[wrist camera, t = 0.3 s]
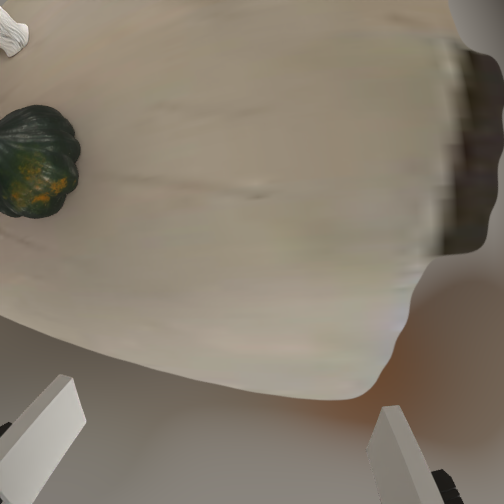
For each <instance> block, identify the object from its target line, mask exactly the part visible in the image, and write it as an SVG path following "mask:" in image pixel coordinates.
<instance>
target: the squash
mask: <svg viewBox="0 0 504 504" xmlns="http://www.w3.org/2000/svg"><path fill="white" fill-rule="evenodd" d="M74 135H75V132H74V129H73V127H72V125H71V124H70V123H69V121H68V120H67V119H66V118H64V117H63V116H62V115H61V114H60V113H59V112H58V111H57V110H56V109H54V108H52V107H48V106H42V105H32V106H28V107H25V108H22V109H18V110H15V111H13V112H11V113H10V114H8V115H6V116H5V117H4V118H3V119H1V120H0V212H1V213H3V214H6V215H8V216H10V217H14V218H17V217H21V216H25V217H28V218H34V219H37V218H44V217H49V216H51V215H53V214H55V213H57V212H58V211H59V210H60V209H61V207H62V206H63V203H64V201H65V197H66V194H68V193H70V192H71V191H73V190H74V189H75V188H76V186H77V183H78V177H79V175H78V170H77V168H76V165H75V164H74V163H75V162H76V161H77V159H78V158H79V155H80V144H79V142H78V141H77V140H76V139H75V137H74Z"/></svg>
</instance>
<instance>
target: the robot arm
mask: <svg viewBox="0 0 504 504" xmlns="http://www.w3.org/2000/svg"><path fill="white" fill-rule="evenodd" d="M85 424H86V418H85V416H84V413H83V410H82V407H81V404H80V400H79V397H78V394H77V391H76V387H75V384H74V381H73V378H72V377H68V376H65V375H61V374H59V375H58V376H57V377H56V378H55V379H54V381H53V382H52V383H51V384H50V385H49V386H48V387H47V388H46V389H45V390H44V391H43V392H42V393H41V394H40V395H39V396H38V397H37V398H36V399H35V400H34V401H33V403H32V404H31V405H30V406H29V407H28V408H27V409H26V410H25V411H24V412H23V413H22V414H21V415H20V416H19V418H18V419H17V420H16V421H15V422H14V423H13V424H12V423H10V422H8V423H6V424H4V425H2V426H1V427H0V504H1V503H2V501H3V502H4V503H5V504H32V503H33V502H34V500H35V498H36V497H37V495H38V494H39V492H40V490H41V489H42V488H43V486H44V484H45V483H46V481H47V480H48V478H49V477H50V475H51V473H52V472H53V471H54V469H55V468H56V466H57V465H58V463H59V462H60V460H61V459H62V457H63V456H64V454H65V453H66V451H67V450H68V448H69V447H70V445H71V444H72V443H73V441H74V440H75V438H76V437H77V435H78V433H79V432H80V431H81V429H82V428H83V427H84V425H85ZM366 452H367V455H368V458H369V462H370V465H371V469H372V472H373V476H374V479H375V483H376V486H377V490H378V494H379V497H380V501H381V504H464V503H463V501H462V499H461V497H460V494H459V492H458V490H457V489H456V486H455V484H454V482H453V480H452V478H451V476H449V475H448V474H447V473H446V472H445V471H444V470H443V469H441V470H437V471H433V472H430V469H429V467H428V465H427V463H426V461H425V458H424V456H423V454H422V452H421V450H420V448H419V446H418V443H417V441H416V439H415V437H414V435H413V433H412V431H411V429H410V427H409V425H408V423H407V421H406V418H405V416H404V414H403V412H402V410H401V408H400V406H399V405H397V406H387V407H382V410H381V412H380V415H379V418H378V421H377V424H376V426H375V429H374V431H373V434H372V436H371V439H370V442H369V444H368V446H367V449H366Z"/></svg>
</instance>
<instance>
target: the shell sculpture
mask: <svg viewBox="0 0 504 504" xmlns="http://www.w3.org/2000/svg"><path fill="white" fill-rule="evenodd" d="M0 33H1V34H0V48H2V49H3V50H4V51H5V52H6V54H7V56H8V57H11V56H14V55H15V54H16V53H18V52H19V51H20V50H22V48H23V46H24V47H25V45H27V42H28V39H29V38H28V37H29V36H28V35H29V31H28V27H27V25H25V24H21V23H16V22H15V21H14V20H13V19H12V18H11V16H10V15H9V14H8V13H7V12H6V11H5V10H4V9H3V8H2V7H1V6H0ZM1 35H2V36H1ZM17 41H18V42H19V43H20V42H21V43H20V44H21V45H20V44H19V43H18V42H17ZM22 45H23V46H22Z"/></svg>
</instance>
